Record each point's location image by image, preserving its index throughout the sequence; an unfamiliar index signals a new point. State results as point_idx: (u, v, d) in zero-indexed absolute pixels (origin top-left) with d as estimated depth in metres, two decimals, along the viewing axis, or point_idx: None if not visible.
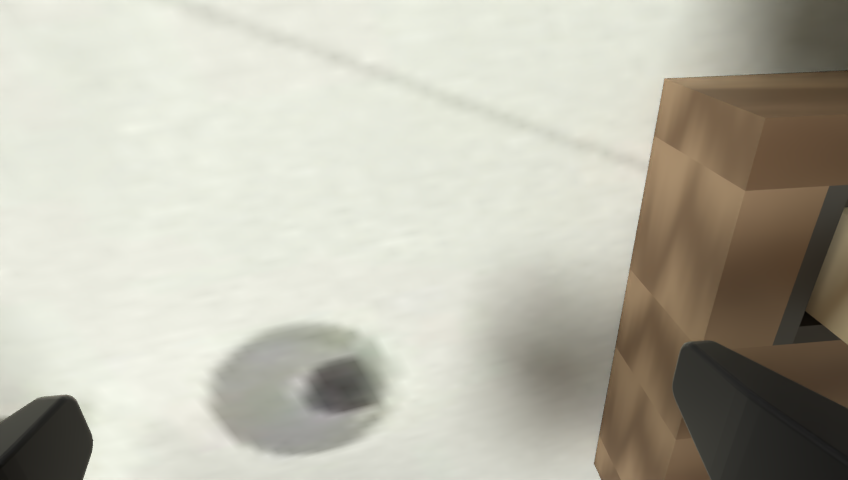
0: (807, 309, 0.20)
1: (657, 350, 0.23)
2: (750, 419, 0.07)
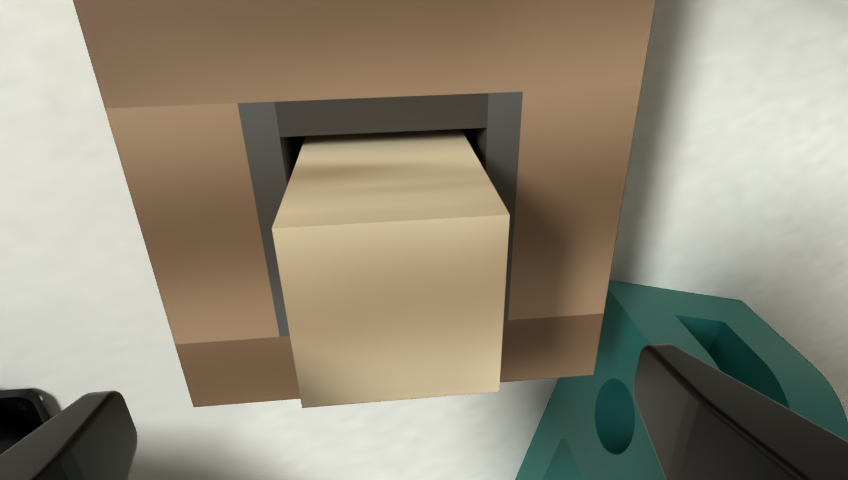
0: None
1: None
2: (702, 424, 0.07)
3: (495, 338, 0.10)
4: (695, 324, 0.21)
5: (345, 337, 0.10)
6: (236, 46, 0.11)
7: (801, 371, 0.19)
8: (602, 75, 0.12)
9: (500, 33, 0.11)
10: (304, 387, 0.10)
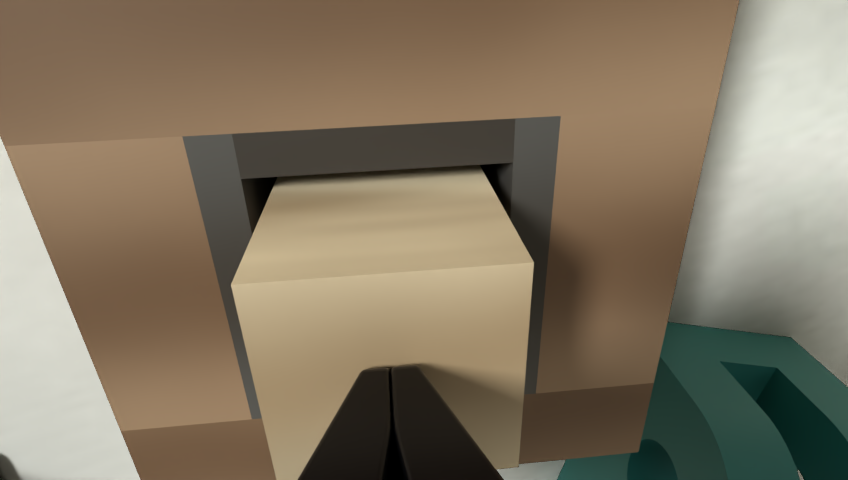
0: None
1: None
2: (396, 453, 0.06)
3: (513, 408, 0.08)
4: (743, 371, 0.18)
5: (330, 410, 0.08)
6: (177, 60, 0.08)
7: None
8: (665, 93, 0.09)
9: (533, 39, 0.09)
10: (280, 468, 0.08)
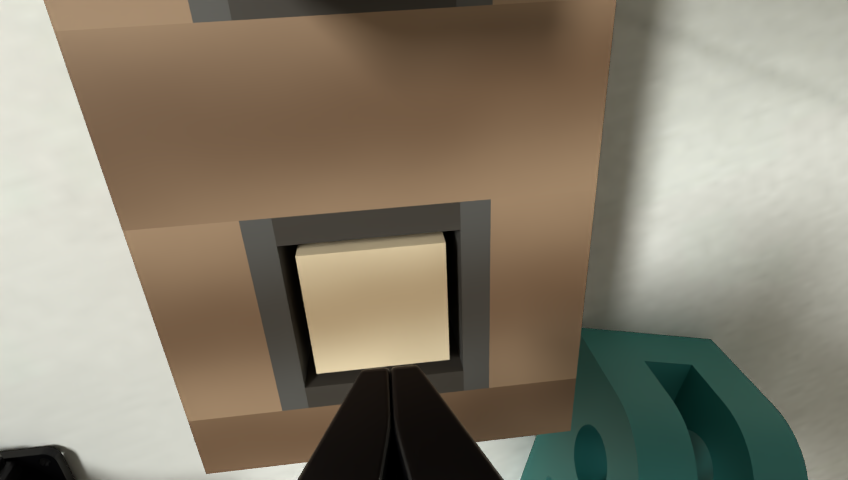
0: None
1: None
2: (396, 453, 0.06)
3: (443, 323, 0.15)
4: (664, 368, 0.22)
5: (344, 324, 0.15)
6: (236, 175, 0.13)
7: (761, 413, 0.20)
8: (560, 182, 0.14)
9: (468, 153, 0.13)
10: (317, 360, 0.16)
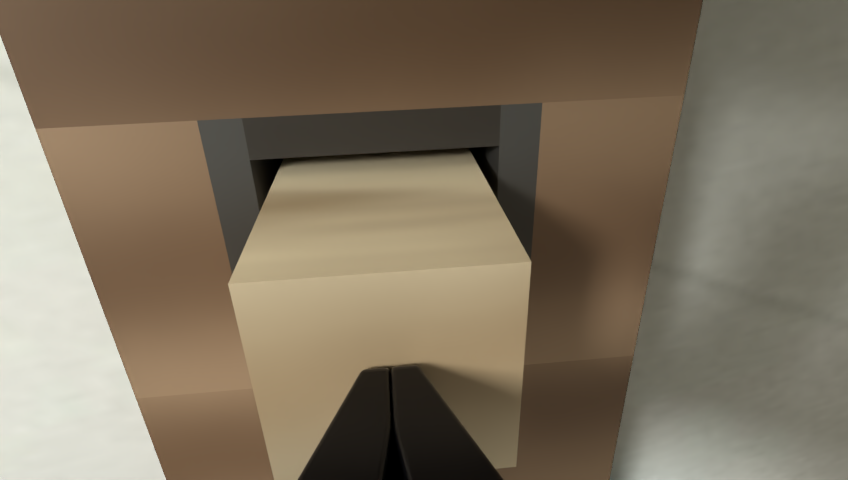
0: None
1: None
2: (396, 453, 0.06)
3: None
4: None
5: None
6: None
7: None
8: (577, 476, 0.15)
9: None
10: None
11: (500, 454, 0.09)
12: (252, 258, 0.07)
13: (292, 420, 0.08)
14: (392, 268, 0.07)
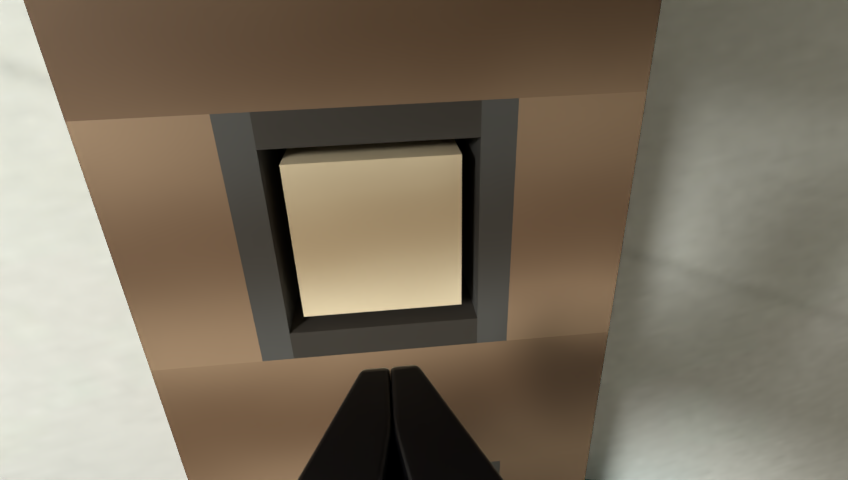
0: None
1: None
2: (396, 453, 0.06)
3: None
4: None
5: None
6: (289, 453, 0.15)
7: None
8: (559, 448, 0.16)
9: (482, 432, 0.16)
10: None
11: (450, 294, 0.13)
12: (291, 155, 0.12)
13: (315, 263, 0.13)
14: (377, 158, 0.12)
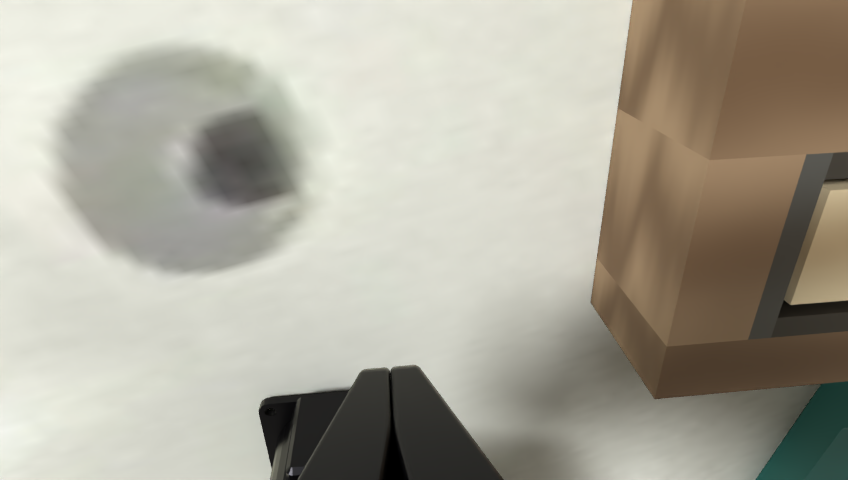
0: None
1: (679, 48, 0.16)
2: (396, 453, 0.06)
3: None
4: None
5: (837, 257, 0.17)
6: (827, 111, 0.14)
7: None
8: None
9: None
10: (798, 291, 0.17)
11: None
12: None
13: None
14: None
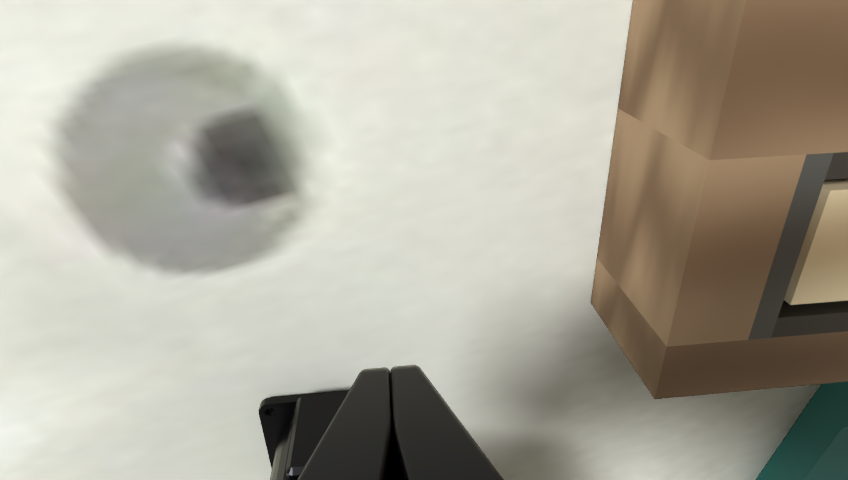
0: None
1: (679, 48, 0.16)
2: (396, 453, 0.06)
3: None
4: None
5: (836, 258, 0.17)
6: (827, 111, 0.14)
7: None
8: None
9: None
10: (798, 291, 0.17)
11: None
12: None
13: None
14: None
